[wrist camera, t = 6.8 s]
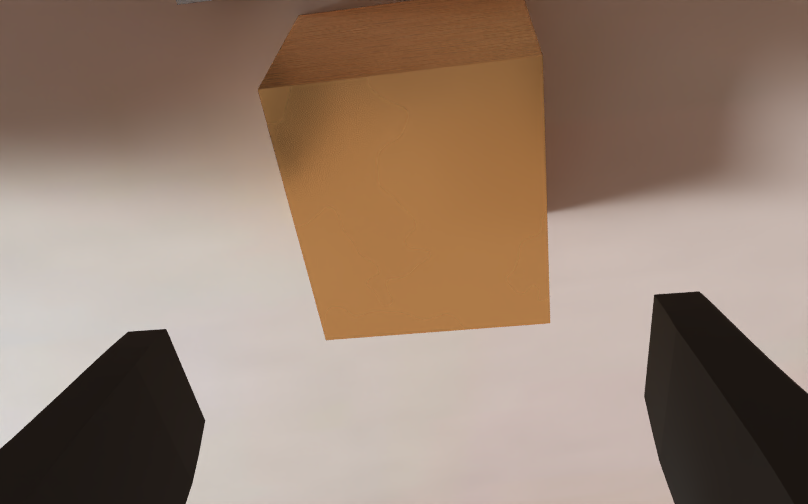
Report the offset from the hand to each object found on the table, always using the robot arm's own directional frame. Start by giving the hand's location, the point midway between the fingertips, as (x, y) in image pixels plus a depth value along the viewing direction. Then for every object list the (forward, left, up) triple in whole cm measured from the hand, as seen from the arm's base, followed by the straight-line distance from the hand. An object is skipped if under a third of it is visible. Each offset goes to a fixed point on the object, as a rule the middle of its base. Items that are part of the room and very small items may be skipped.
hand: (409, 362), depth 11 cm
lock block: (0, 0, -8) cm, 8 cm away
